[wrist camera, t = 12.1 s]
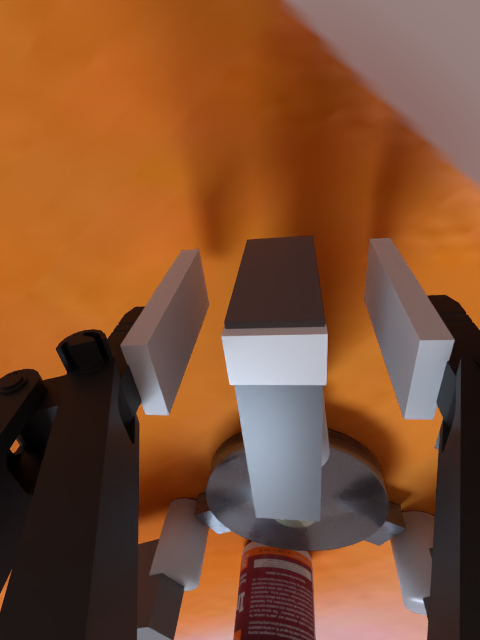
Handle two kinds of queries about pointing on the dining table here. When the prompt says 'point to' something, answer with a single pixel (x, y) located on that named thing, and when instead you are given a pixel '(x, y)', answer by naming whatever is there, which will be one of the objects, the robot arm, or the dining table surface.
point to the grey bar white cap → (280, 374)
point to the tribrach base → (336, 501)
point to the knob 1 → (169, 570)
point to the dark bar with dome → (415, 560)
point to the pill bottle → (275, 595)
